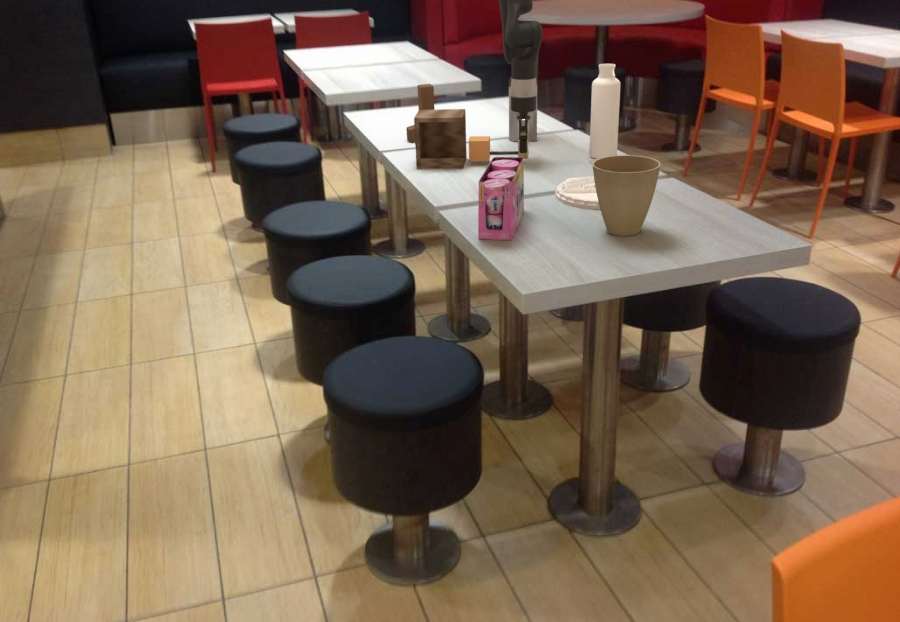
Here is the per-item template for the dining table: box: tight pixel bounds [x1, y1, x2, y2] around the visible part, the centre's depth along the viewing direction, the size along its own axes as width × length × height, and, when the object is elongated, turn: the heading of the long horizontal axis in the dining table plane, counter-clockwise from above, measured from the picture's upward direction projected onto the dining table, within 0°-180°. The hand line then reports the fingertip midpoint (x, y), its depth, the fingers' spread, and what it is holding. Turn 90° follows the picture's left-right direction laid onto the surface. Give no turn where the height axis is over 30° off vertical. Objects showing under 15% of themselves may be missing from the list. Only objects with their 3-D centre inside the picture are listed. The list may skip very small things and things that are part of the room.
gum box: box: [477, 156, 525, 241], centre depth 197 cm, size 24×8×14 cm, turn 168°
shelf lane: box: [413, 108, 467, 170], centre depth 249 cm, size 14×12×15 cm
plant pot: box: [591, 154, 661, 237], centre depth 189 cm, size 15×15×16 cm
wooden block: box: [405, 83, 435, 144], centre depth 277 cm, size 9×4×18 cm, turn 106°
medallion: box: [555, 175, 601, 211], centre depth 219 cm, size 24×27×2 cm
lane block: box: [468, 127, 529, 162], centre depth 248 cm, size 18×6×9 cm, turn 85°
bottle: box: [588, 63, 622, 165], centre depth 242 cm, size 8×8×28 cm
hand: (523, 149), depth 248 cm, fingers open, 8 cm apart
